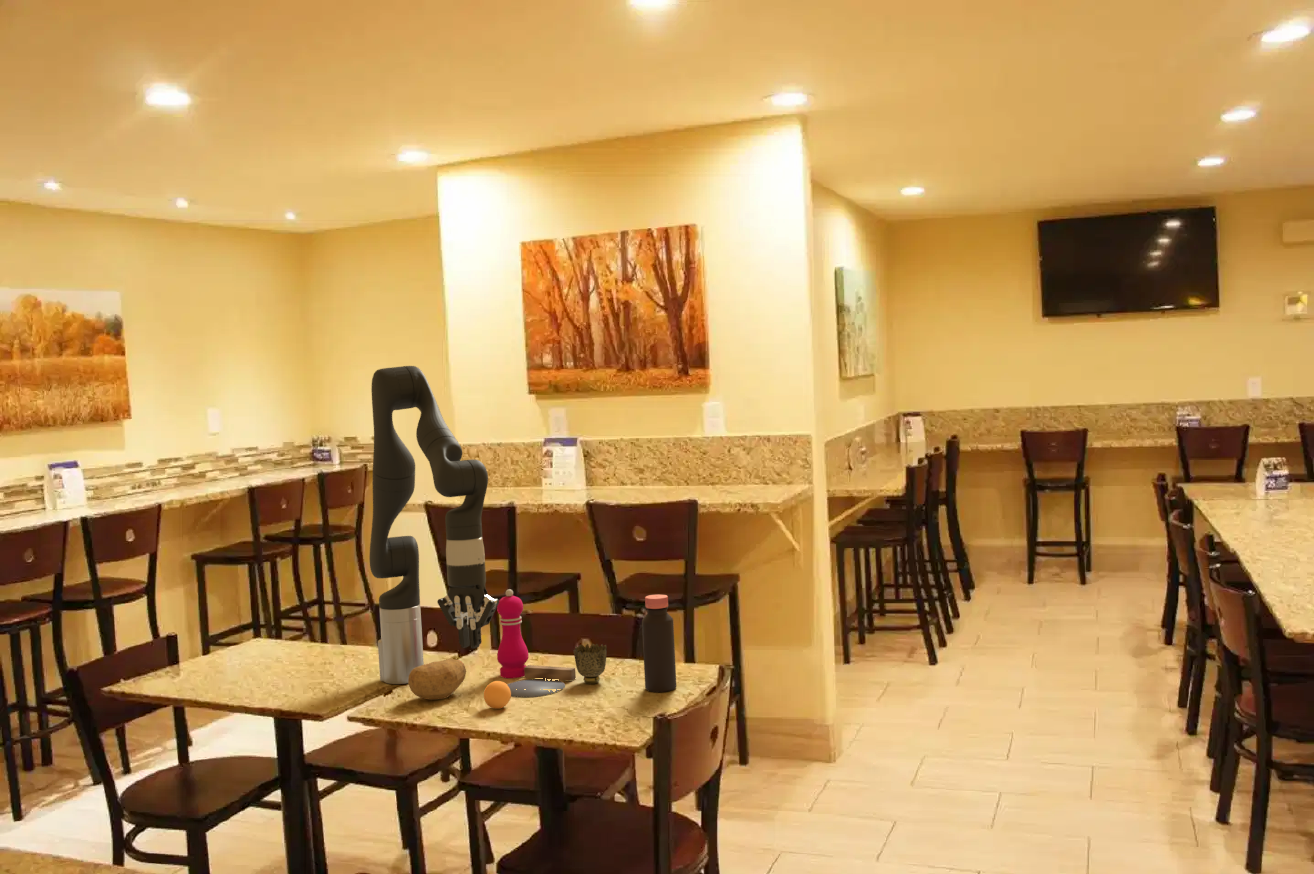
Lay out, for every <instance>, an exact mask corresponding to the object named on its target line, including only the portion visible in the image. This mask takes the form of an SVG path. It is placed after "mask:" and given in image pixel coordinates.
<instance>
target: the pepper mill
mask: <svg viewBox="0 0 1314 874" xmlns="http://www.w3.org/2000/svg"><path fill="white" fill-rule="evenodd" d="M498 600H499V604H498V606H497V608H496V610H497V613H498V614H499V616H500V618H499V620H500V622H499V624H500V625H501V629H502V632H501V633H502V636H501V640H500V643H499V646H498V649H497V653H496V656H497V658H496V659H497V662H498V663H499V664H500V665H501V667H500V668H499V676H500V677H501V678H502V679H518V678H524V677H525V672H524V667H526V666H527V665H526V662H528V659H529V657H530V656H529V650H528V647H527V645H526V643H525V641H524V639H523V636H522V631H521V624H522V622H523V621H522V616H521V614H522V613H523V612H524V604H523V601H522V599H521V598H520V597H518V596H515V595H514V591H513V589H510V588H509V589H507V590H506V591H505V596H502V597H501V598H499V599H498Z"/></svg>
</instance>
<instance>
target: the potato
mask: <svg viewBox="0 0 1314 874" xmlns="http://www.w3.org/2000/svg"><path fill="white" fill-rule="evenodd" d="M466 674H467V669H466V666H465V663H464V662H463V661H461V660H459V659H453V658H450V659H449V658H448V659H444V660H436V661H432V662H429V663H425V664H424V665H421V666H419V667H416V668H414V669H413V670H412V671H411V672H410V675H409V679H408V683H407V684H408V687H409V689H410V691H411V693H413V695H415V696H416V697H418V698H421V699H425V700H434V701H435V700H443V699H446V698H448V697H450V696H451V695H453V693H454V692H456V690H458V688H459V687H460V686H461V684H462V683H463V682H464V681H465V679H466Z"/></svg>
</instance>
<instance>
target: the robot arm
mask: <svg viewBox="0 0 1314 874" xmlns="http://www.w3.org/2000/svg"><path fill="white" fill-rule="evenodd" d="M370 389H371V405H372V406H371V407H372V421H373V457H372V458H373V459H372V460H373V461H372V523H371V534H370V544H369V556H368V557H369V569H370V572H371V574H372V576H373V577H374V578H376V579H389V578H390V579H391V578H399V577H402V579H401V581H400V582H399V583H398V584H397V585H395V586H394V587H393V588H391V589H389V590H387V591H385V592H383V593H381V594H380V595H379V598H378V607H379V622H380V624H379V625H380V636H381V637H380V639H379V640H377V650H378V651H377V653H378V654H377V655H378V669H379V681H380V682H384V683H386V684H389V685H390V684H393V685H401V684H402V685H403V684H404V685H405V684H408V679H409V675H410V672H411V671H412V670H413V669H414V668H416V667H419V666H421V665H425V664H424V663H425V662H424V649H423V648H424V647H423V646H424V643H423V629H422V615H421V613H422V611H421V598H420V596H421V594H420V552H419V545H418V542H417V540H416V538H415V537H414V536H413V535H412V536H411V535H404V536H403V535H401V536H390V537H389V534H390V531H391V529H392V526H393V523H394V522H395V521H396V519H397V517H398V516H399V515H400V513H401V512H402V511H403V509H405V507H406V506H407V504H408V502H409V500H410V499H411V497H412V496H413V495H414V491H415V486H416V462H415V459H414V456H413V455H412V453H411V451H410V450H409V448H408V447H407V446H406V444H405V443H404V442H403V441H402V439H401V437H400V436H399V435H398V433H397V431H396V429H395V426H394V422H393V413H394V411H400V410H407V409H414V408H417V409H418V410H419V412H420V417H419V420H418V423H417V426H416V434H415V435H416V440H417V444H418V446H419V448H420V450H421V451H422V453H423V454H424V456H425V458H426V459H427V461H428V463H429V466H430V469H431V474H432V481H433V485H434V488H435V490H436V491H437V493H438V494H439V495H441V496H442V497H446V498H455V497H464V496H465V497H464V499H463V502H462V504H461V505H459V506H457V507H455V508H452V509H450V510H448V511H446V514H445V533H446V534H445V535H446V536H445V538H446V545H445V557H446V561H445V562H446V577H447V578H446V579H447V585H448V586H449V587H448V591H447V595H445V596H444V597H441V598H438V600H437V605H438V606H439V608H440V611H441V612H442V614H443V615H444V617H445V620H446V621H447V622H448V624H449V626H451V627H452V626H453V627H456V628H457V630H458V643H459V645H460V647H461V648H463V649H464V648H468V647H471V649H477V648H479V647H480V645H481V644H482V630H481V629H482V628H484V627H485V626H487V625H490V623H491V621H492V618H493V617H494V614H495V612H496V610H497V606H498V604H499V600H500V599H498V598H493V597H491V596H490V595H489V592H488V590H487V589H486V582H487V572H486V560H485V559H486V555H485V546H484V541H483V540H484V539H483V527H482V526H483V524H482V514H483V510H484V504H485V498H486V494H487V490H488V483H489V475H488V473H489V472H488V471H487V468H486V466H485V464H484V463H483V462H482V461H481V460H478V459H463V460H462V457H463V449H462V447H461V444H460V443H459V442H458V439H457V438H456V437H455V435H454V434H453V433H452V431H451V429H450V428H449V426H448V425H447V423H446V421H445V419H444V417H443V414H442V413H441V411H440V407H439V405H438V402H437V400H436V397H435V395H434V393H433V390H432V388H431V385H430V384H429V381H428V379H427V377H426V375H425V374H424V372H423V371H422V370H421V368H419V367H417V366H416V365H403V366H395V367H394V366H393V367H383V368H379V369H377V370H375V372H374V373H373V375H372V379H371V388H370ZM483 604H484V605H483ZM482 607H484V609H483V608H482ZM469 625H470V627H469Z"/></svg>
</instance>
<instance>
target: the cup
mask: <svg viewBox="0 0 1314 874" xmlns="http://www.w3.org/2000/svg"><path fill="white" fill-rule="evenodd" d="M607 649H608V648H607V644H605V645H603V643H602V644H601V645H599V644H598V643H596V644H594V643H592V644H591V645H589V644H588V643H587V644H586V645H585V646H584V645H583V644H579V645H578V646H575V647H574V648H572V650H573V655H574V662H575V668H576V670H577V672H578V673H579V675H580V676H582V677H583V678H582V679H583V682H584V683H585V684H587V685H595V684H598V683H599V682H600V679H601V677H600V675H602V674H603V673H604V672H605V669H606V664H607V651H608V650H607Z"/></svg>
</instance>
